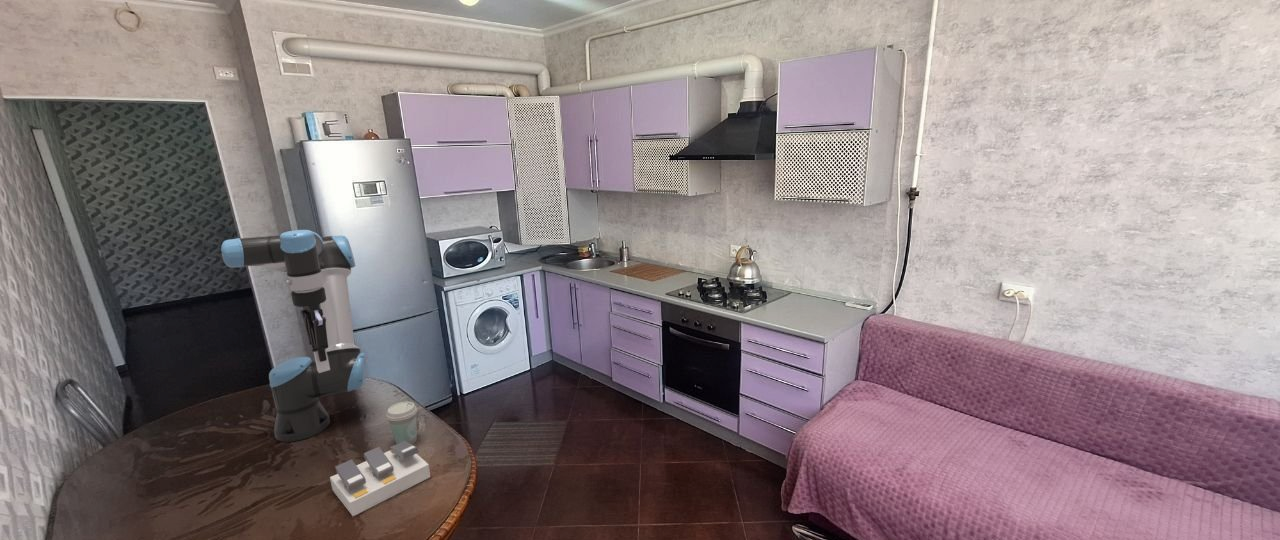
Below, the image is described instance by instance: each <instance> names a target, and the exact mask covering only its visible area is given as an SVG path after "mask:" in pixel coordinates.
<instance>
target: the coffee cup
mask: <svg viewBox="0 0 1280 540" xmlns="http://www.w3.org/2000/svg"><path fill="white" fill-rule="evenodd" d="M417 413H418V408H417V406H416V405H415V403H414V402H412V401H401V402H397V403H394V404H392V405H390V407H388V409H387V412H386V419H387V420H388V423H389V426H390V429H391V432H392V436H393V439H394V441H395V445H396V444H398V443H400V442H403V441H406V442H408V443H410V444H412V445H415V444H416V443H417V440H418V439H417V438H418V436H417V435H418V433H417V429H418V428H417V425H418V424H417Z"/></svg>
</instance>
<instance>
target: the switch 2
mask: <svg viewBox="0 0 1280 540" xmlns="http://www.w3.org/2000/svg"><path fill="white" fill-rule="evenodd" d="M384 453H385V452H384V451H383V450H382V448H381V447H380V446H377V447H374V448H373V449H370V450H368V451H366V452H364V453H363V458H364V460H365V461H367V463H368V464H369V466H370V467H371V469H372V470H373V472H374V473H375V474H376V476H377V477H378V478H380V477H383V476H385V475H387V474H389V473H391V472H393V471H394V467H393V465H392V464H391V462H390V461H389V460H388V458H387V457H386V455H385V454H384Z"/></svg>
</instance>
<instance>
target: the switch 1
mask: <svg viewBox="0 0 1280 540" xmlns="http://www.w3.org/2000/svg"><path fill="white" fill-rule="evenodd" d="M335 472H336V474H338V475H339V477H340V478H341V479H342V481H343V482H344V484H345V485H346V487H347V488H348V490H349V491H350V490H352V489H355V488H357V487H359V486H361V485H363V484H365V483H366V479H365V477H364V476H363V474H362V473H361V471H360V470H359V469H358V467H357V466H356V463H355V462H354V460H353V459H350V460H349V459H348V461H345V462H343V463H340V464H337V465H335Z"/></svg>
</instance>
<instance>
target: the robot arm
mask: <svg viewBox="0 0 1280 540" xmlns="http://www.w3.org/2000/svg"><path fill="white" fill-rule="evenodd" d="M220 249H221V257H222V260H223V262H224V265H226V266H227V267H228V268H243V267H261V268H267V269H269V270H271V271H274V272H280V273H281V272H282V273H286V275H287V278H288V279H287V280H286V281H285V283H286V284H287V285H289V290H290V291H291V293H290V295H291V299H292V304H293V306H294V307H296V308H297V307H298V308H302V309H300V315H301V317H302V320H303V323H304V328H305V332H306V335H307V338H308V339H307V340H308V344H309V345H310V346H311V348H312V349H311V351H312V353H313V355H314V360H315V361H313V360H312V359H311V357H309V356H298V357H295V358H292V359H288V360H286V361H283V362H281V363H279V364H278V365H276V366H274V367H273V368H272V369H271V370H270V371H269V373H268V380H269V387H270V390H271V393H272V398H273V402H274V406H275V410H276V418H275V423H274V427H273V428H274V429H273V433H274V437H275V439H276V441H279V442H284V443H290V442H298V441H302V440H305V439H309V438H311V437H314V436H316V435H317V434H319V433H321V432H323V431H324V430H325V429H327V427H328V426H330V424H331V420H330V415H329V413H328V412H327V410H326V409H325V408H324V406H323V405H322V403H321V402H320V397H324V396H330V395H336V394H341V393H345V392H346V393H347V392H351V391H353V390H354V391H355V390H359V389H361V388H363V387H364V386H365V384H366V380H367V372H368V370H367V369H368V365H367V364H368V362H367V355H366V353H365V352H361V347H359V346H357V345H356V344H355V338H354V329H353V322H352V321H353V320H352V312H351V311H352V310H351V303H350V301H351V300H350V293H349V286H348V278H349V276H350V275H351V274H352V269H354V268H355V267H356V262H355V258H354V254H353V250H352V247H351V244H350V241H349V239H348V238H347V236H345V235H329V236H320V235H319V234H318V233H317V232H315V231H312V230H309V229H296V230H289V231H285V232H282V233H280V234H278V235H269V236H268V235H267V236H257V237H256V236H255V237H242V238H239V237H236V238H234V239H233V238H232V239H231V238H230V239H225V240H224V241H223V242H222V244H221V247H220Z"/></svg>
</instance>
